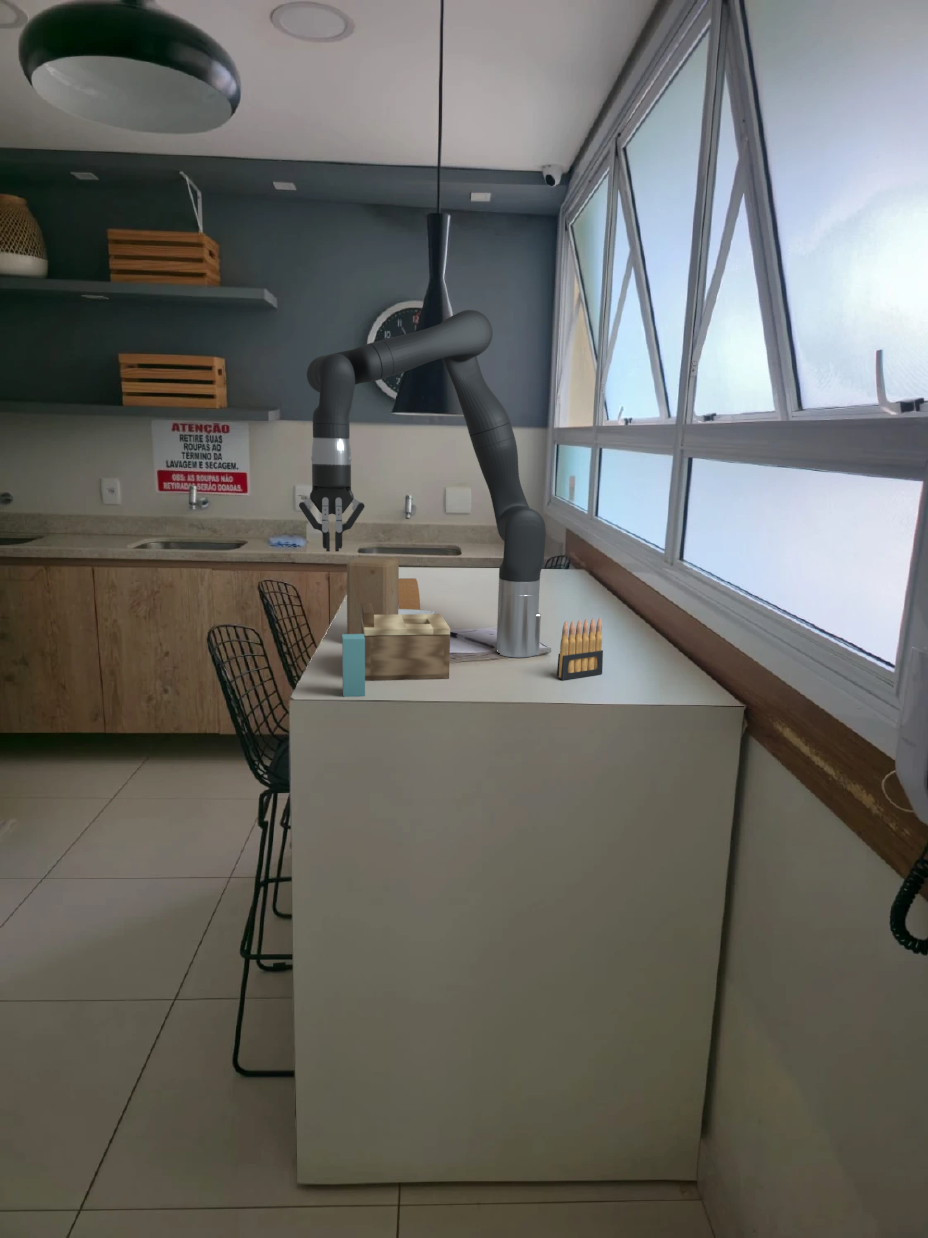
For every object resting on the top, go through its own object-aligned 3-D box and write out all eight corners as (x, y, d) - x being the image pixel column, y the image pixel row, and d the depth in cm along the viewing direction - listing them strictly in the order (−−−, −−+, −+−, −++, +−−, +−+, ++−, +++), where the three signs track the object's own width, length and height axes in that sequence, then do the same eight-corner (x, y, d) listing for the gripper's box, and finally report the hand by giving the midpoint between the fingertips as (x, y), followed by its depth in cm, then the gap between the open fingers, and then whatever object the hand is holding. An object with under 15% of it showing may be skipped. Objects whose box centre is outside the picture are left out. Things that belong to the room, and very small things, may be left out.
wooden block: (387, 649, 183) (387, 563, 179) (345, 646, 185) (345, 560, 180) (399, 639, 192) (399, 557, 188) (359, 636, 194) (359, 555, 190)
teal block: (363, 689, 152) (363, 633, 150) (365, 696, 149) (364, 638, 146) (342, 690, 152) (342, 634, 149) (343, 696, 148) (342, 639, 146)
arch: (398, 622, 212) (398, 585, 210) (392, 607, 231) (392, 573, 229) (420, 622, 213) (420, 585, 211) (412, 607, 232) (412, 573, 230)
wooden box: (439, 660, 174) (440, 620, 173) (449, 678, 161) (450, 635, 159) (361, 662, 172) (361, 621, 170) (364, 680, 158) (364, 636, 156)
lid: (440, 619, 173) (440, 600, 172) (450, 634, 159) (450, 613, 158) (361, 620, 170) (361, 600, 169) (364, 635, 156) (364, 614, 155)
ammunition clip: (561, 680, 162) (564, 622, 160) (556, 677, 164) (559, 620, 161) (602, 673, 168) (606, 618, 165) (596, 671, 169) (600, 616, 167)
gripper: (365, 462, 160) (365, 548, 163) (296, 461, 157) (298, 548, 161) (367, 463, 152) (367, 553, 156) (295, 461, 150) (296, 553, 154)
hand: (332, 550), depth 159 cm, fingers closed
